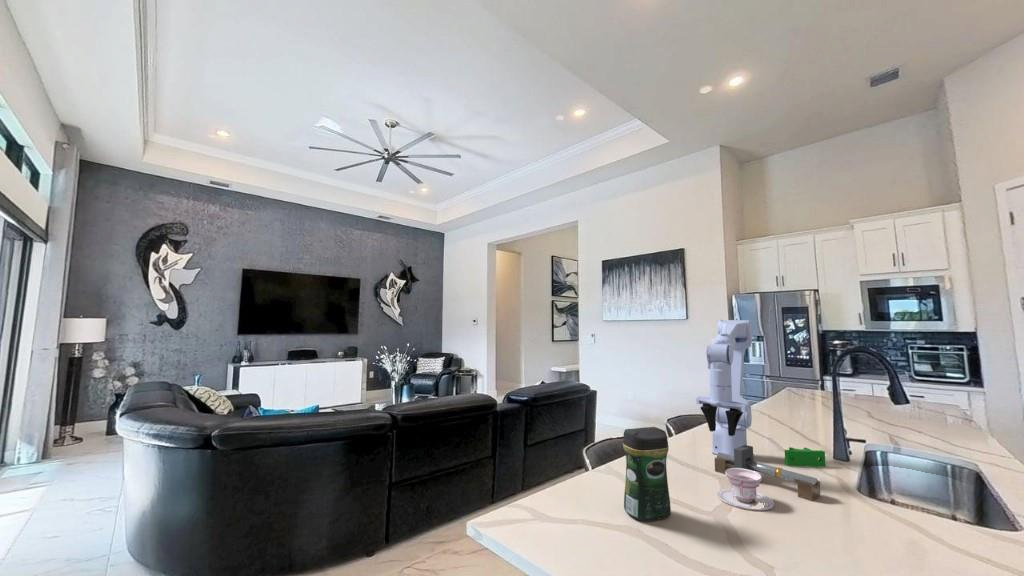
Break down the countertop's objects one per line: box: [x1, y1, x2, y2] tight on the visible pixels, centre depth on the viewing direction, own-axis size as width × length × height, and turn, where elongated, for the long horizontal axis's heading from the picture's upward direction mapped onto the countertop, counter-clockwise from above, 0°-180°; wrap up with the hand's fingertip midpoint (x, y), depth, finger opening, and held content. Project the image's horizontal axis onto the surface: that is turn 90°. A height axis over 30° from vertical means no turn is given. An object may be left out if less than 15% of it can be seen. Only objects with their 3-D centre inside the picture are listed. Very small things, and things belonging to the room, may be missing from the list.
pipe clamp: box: [784, 446, 827, 468], centre depth 127 cm, size 11×4×5 cm, turn 89°
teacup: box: [716, 468, 775, 512], centre depth 101 cm, size 12×12×6 cm
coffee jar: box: [622, 426, 672, 522], centre depth 94 cm, size 10×8×19 cm
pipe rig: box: [714, 452, 822, 502], centre depth 112 cm, size 24×5×5 cm, turn 35°
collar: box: [734, 444, 754, 471], centre depth 116 cm, size 2×6×7 cm, turn 125°
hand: (721, 433), depth 121 cm, fingers open, 5 cm apart
